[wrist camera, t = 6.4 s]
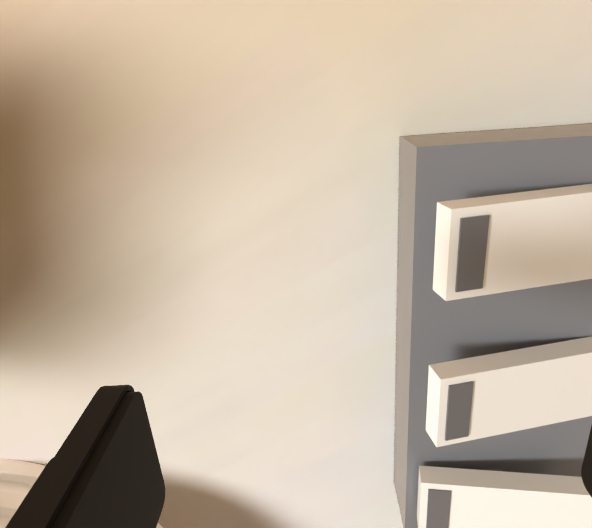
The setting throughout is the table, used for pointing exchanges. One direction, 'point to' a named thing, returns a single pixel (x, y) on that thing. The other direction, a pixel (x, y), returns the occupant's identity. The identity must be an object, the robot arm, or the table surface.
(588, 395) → the rocker
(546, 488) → the rocker
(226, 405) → the table surface
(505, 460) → the switch unit
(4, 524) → the plate stack
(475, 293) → the rocker
